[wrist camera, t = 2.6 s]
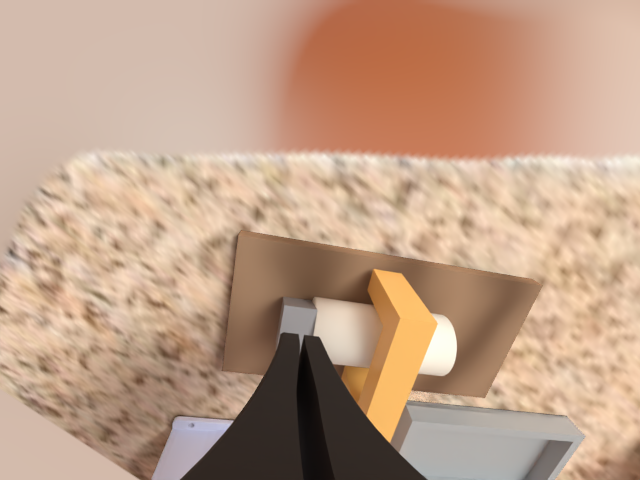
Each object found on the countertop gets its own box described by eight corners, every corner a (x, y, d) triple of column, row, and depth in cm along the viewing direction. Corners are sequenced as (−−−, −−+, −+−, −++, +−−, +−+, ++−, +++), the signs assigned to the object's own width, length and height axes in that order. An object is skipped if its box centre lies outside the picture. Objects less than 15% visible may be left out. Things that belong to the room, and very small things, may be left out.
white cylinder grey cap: (274, 344, 21) (274, 368, 17) (284, 288, 21) (285, 298, 17) (420, 362, 22) (451, 387, 18) (428, 309, 22) (460, 322, 18)
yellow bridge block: (340, 381, 23) (352, 455, 18) (373, 268, 20) (400, 318, 14) (365, 384, 23) (384, 457, 18) (401, 273, 20) (437, 323, 15)
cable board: (225, 361, 23) (221, 370, 22) (241, 230, 20) (238, 235, 19) (478, 388, 26) (484, 397, 25) (532, 279, 23) (542, 285, 22)
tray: (375, 472, 29) (380, 495, 27) (404, 400, 26) (412, 421, 24) (523, 481, 31) (537, 503, 30) (566, 416, 28) (585, 436, 26)
